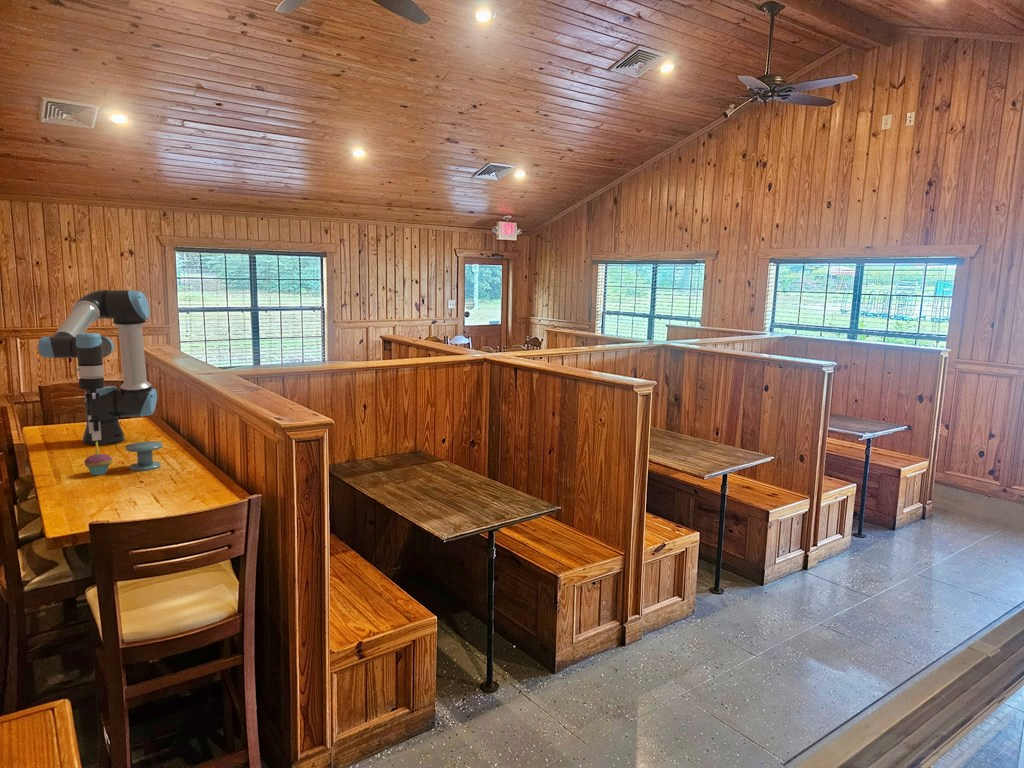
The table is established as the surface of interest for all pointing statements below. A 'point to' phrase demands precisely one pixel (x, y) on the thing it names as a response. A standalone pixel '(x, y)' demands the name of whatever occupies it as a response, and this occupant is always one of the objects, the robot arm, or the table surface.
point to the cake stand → (144, 455)
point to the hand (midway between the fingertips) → (95, 436)
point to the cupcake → (98, 462)
